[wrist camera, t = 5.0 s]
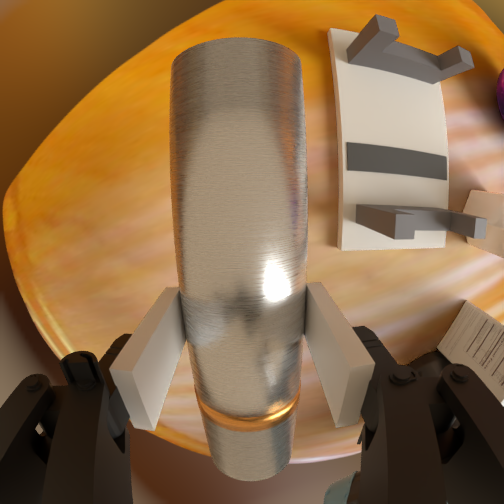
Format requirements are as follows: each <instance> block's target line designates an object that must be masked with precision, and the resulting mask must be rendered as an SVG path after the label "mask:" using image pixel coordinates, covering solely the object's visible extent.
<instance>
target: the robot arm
mask: <svg viewBox="0 0 504 504" xmlns="http://www.w3.org/2000/svg"><path fill="white" fill-rule="evenodd" d="M304 335H305V338H306V341H307V344H308V347H309V350H310V353H311V355H312V358H313V361H314V364H315V367H316V370H317V373H318V376H319V379H320V382H321V385H322V387H323V390H324V393H325V396H326V399H327V402H328V405H329V408H330V411H331V414H332V417H333V421H334V424H335V427H336V428H340V427H345V426H350V425H355V424H357V423H358V420H359V417H360V414H361V415H362V417H363V419H364V421H365V424H364V426H363V429H362V432H361V434H360V437H359V439H358V442H357V444H360V443H361V441H362V454H361V471H359V472H358V471H355V472H353V474H352V475H349V476H347V477H345V478H342V479H340V480H338V481H336V482H334V483H332V484H331V485H330V486H329V488H328V489H327V491H326V494H325V498H324V504H504V407H503V405H502V404H501V403H500V402H499V400H498V399H497V398H496V397H495V395H494V394H493V393H492V392H491V391H490V389H489V388H488V387H487V386H486V385H485V384H484V382H483V381H482V380H481V379H480V378H479V377H478V375H477V374H476V373H475V372H474V371H473V370H472V369H471V368H469V367H468V366H465V365H463V364H458V363H454V364H452V363H451V362H450V361H449V360H448V359H447V358H446V357H445V356H444V355H443V354H442V353H441V352H432V353H429V354H426V355H424V356H422V357H420V358H418V359H416V360H415V361H413V362H412V363H410V364H409V365H408V366H405V365H398V364H397V363H396V361H395V360H394V358H393V357H392V356H391V354H390V353H389V352H388V351H387V349H386V348H385V347H384V346H383V344H382V343H381V341H380V340H379V339H378V337H377V336H376V335H375V333H374V332H373V331H371V330H370V329H368V328H366V327H365V326H360V327H351V326H350V324H349V323H348V321H347V320H346V318H345V317H344V315H343V314H342V312H341V311H340V309H339V308H338V306H337V305H336V303H335V302H334V301H333V299H332V298H331V296H330V295H329V293H328V292H327V290H326V289H325V288H324V286H323V285H322V283H321V282H318V283H306V305H305V323H304ZM185 342H186V333H185V326H184V320H183V313H182V305H181V298H180V290H179V287H166V288H165V290H164V291H163V292H162V294H161V295H160V296H159V298H158V299H157V300H156V302H155V303H154V305H153V306H152V307H151V309H150V310H149V312H148V313H147V314H146V316H145V317H144V319H143V320H142V321H141V323H140V324H139V326H138V327H137V328H136V330H135V331H134V333H133V334H123V335H122V336H120V337H119V338H117V339H116V340H115V341H114V342H113V344H112V345H111V346H110V348H109V349H108V350H107V352H106V354H104V356H103V357H102V358H101V360H100V361H99V362H98V361H97V358H96V356H95V355H94V354H93V353H91V352H88V351H77V352H73V353H71V354H68V355H67V356H65V357H64V358H62V360H61V361H60V363H59V364H60V366H61V369H62V371H63V373H64V375H65V378H66V380H67V382H68V386H52V385H51V383H50V380H49V379H48V377H47V376H45V375H43V374H33V375H30V376H28V377H26V378H25V379H24V380H22V381H21V383H20V384H19V385H18V386H17V387H16V389H15V390H14V391H13V392H12V394H11V395H10V396H9V398H8V399H7V400H6V401H5V403H4V404H3V405H2V407H1V408H0V504H133V498H132V486H131V470H130V435H129V432H128V429H127V427H126V424H127V422H128V420H129V418H130V420H131V422H132V424H133V426H134V428H138V429H144V430H151V431H155V428H156V425H157V422H158V419H159V416H160V413H161V410H162V407H163V404H164V401H165V398H166V395H167V392H168V389H169V387H170V384H171V381H172V378H173V375H174V372H175V369H176V367H177V364H178V361H179V358H180V355H181V353H182V350H183V347H184V344H185ZM38 423H39V425H40V426H41V428H42V429H43V432H42V433H41V434H38V433H37V431H36V430H35V428H36V426H37V425H38Z"/></svg>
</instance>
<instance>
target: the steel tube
mask: <svg viewBox="0 0 504 504" xmlns="http://www.w3.org/2000/svg"><path fill="white" fill-rule="evenodd" d="M169 136H170V180H171V201H172V217H173V230H174V243H175V253H176V263H177V273H178V282H179V290H180V298H181V305H182V313H183V320H184V326H185V333H186V339H187V345H188V351H189V357H190V362H191V368H192V373H193V378H194V383H195V384H194V386H195V393H196V397H197V402H198V406H199V408H200V412H201V416H202V420H203V425H204V429H205V433H206V437H207V441H208V445H209V448H210V452H211V456H212V459H213V462H214V464H215V465H216V467H217V468H218V469H219V470H220V471H221V472H223V473H224V474H226V475H227V476H229V477H232V478H235V479H238V480H243V481H259V480H264V479H267V478H270V477H272V476H274V475H276V474H278V473H279V472H281V471H282V470H283V469H284V468H285V467H286V466H287V464H288V462H289V460H290V458H291V454H292V447H293V439H294V432H295V424H296V415H297V407H298V402H299V396H300V386H301V380H300V377H301V365H302V353H303V339H304V323H305V305H306V281H307V242H308V187H307V149H306V126H305V108H304V94H303V80H302V69H301V61H300V59H299V57H298V56H297V55H296V54H295V53H294V52H293V51H292V50H290V49H289V48H287V47H285V46H283V45H280V44H278V43H275V42H271V41H267V40H262V39H256V38H224V39H217V40H212V41H208V42H204V43H201V44H198V45H195V46H193V47H191V48H189V49H187V50H185V51H184V52H182V53H181V54H179V55H178V56H177V57H176V58H175V59H174V61H173V63H172V66H171V82H170V125H169Z"/></svg>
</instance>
